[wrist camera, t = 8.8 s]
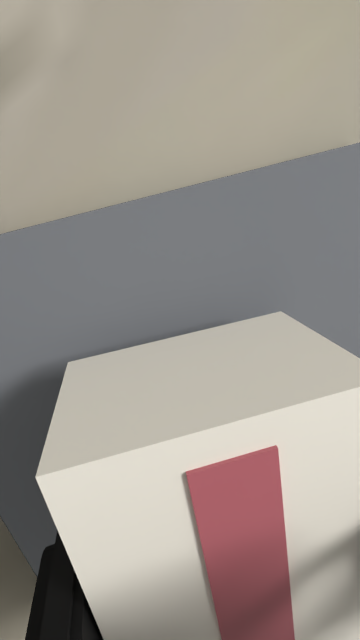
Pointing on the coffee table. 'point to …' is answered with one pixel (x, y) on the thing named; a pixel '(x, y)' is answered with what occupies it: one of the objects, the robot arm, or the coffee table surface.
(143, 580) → the card box
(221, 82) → the coffee table surface
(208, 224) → the mat
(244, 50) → the coffee table surface
